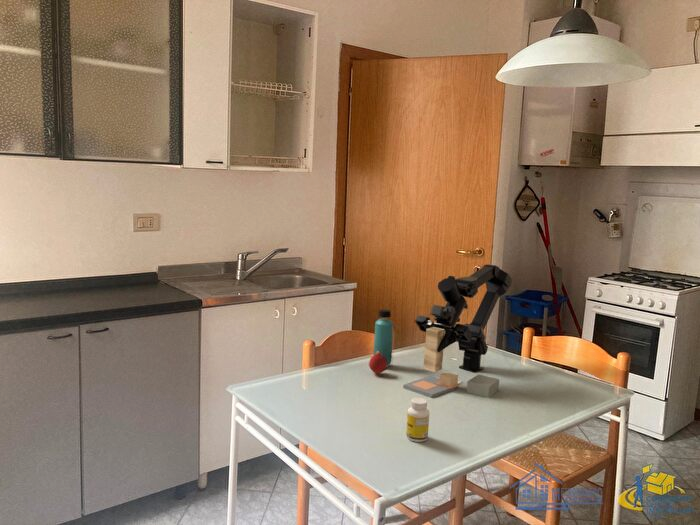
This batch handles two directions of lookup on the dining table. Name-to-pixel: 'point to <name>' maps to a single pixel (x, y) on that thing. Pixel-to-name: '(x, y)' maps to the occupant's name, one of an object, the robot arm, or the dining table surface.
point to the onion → (377, 363)
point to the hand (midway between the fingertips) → (431, 349)
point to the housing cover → (483, 385)
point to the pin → (433, 349)
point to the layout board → (434, 384)
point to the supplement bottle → (418, 420)
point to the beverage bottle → (384, 336)
